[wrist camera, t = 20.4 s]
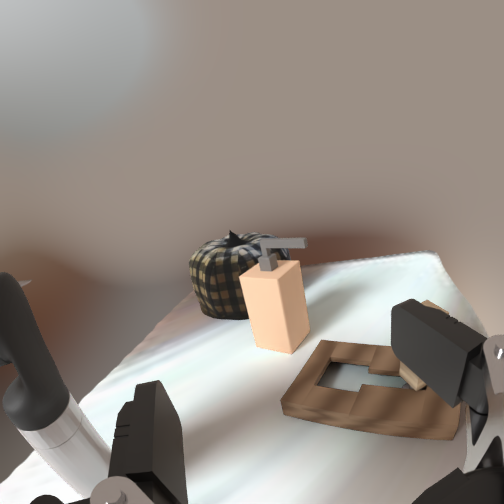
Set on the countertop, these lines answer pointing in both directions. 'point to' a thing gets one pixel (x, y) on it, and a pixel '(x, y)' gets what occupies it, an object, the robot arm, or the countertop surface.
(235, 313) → the decorative pumpkin
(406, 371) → the birch peg
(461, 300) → the countertop surface
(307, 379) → the walnut keyhole board
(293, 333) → the soap dispenser
